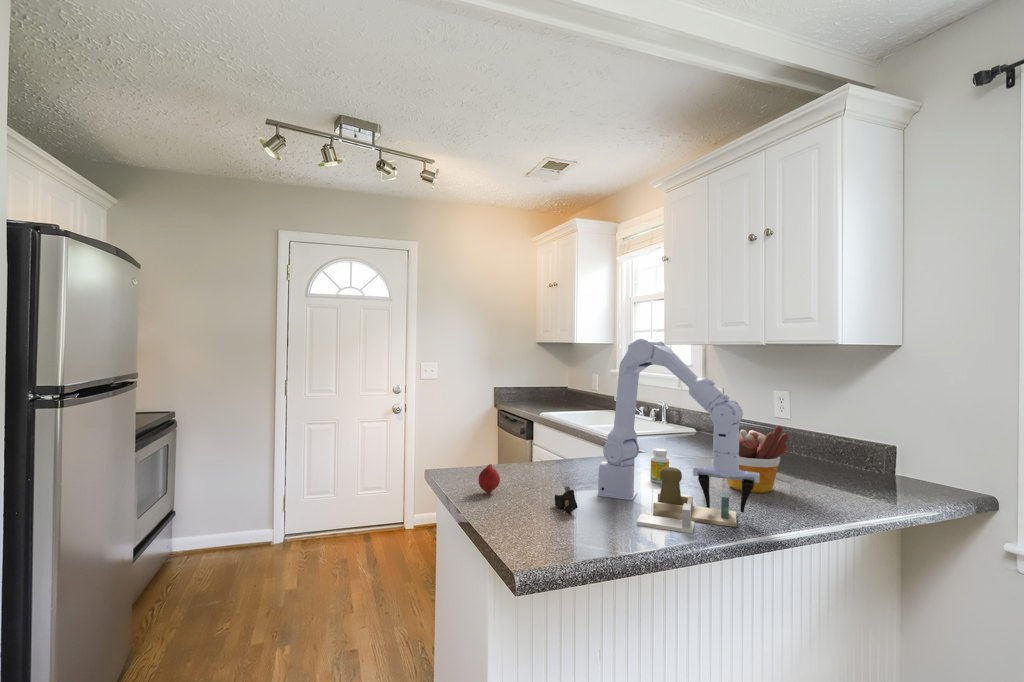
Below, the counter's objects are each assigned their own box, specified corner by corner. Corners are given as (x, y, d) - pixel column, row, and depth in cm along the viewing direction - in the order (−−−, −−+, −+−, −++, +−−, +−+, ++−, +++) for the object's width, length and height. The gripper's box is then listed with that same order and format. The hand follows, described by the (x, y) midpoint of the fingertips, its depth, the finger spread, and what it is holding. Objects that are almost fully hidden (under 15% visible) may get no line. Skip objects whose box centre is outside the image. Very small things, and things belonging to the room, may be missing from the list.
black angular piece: (555, 518, 127) (550, 495, 130) (563, 517, 128) (558, 495, 131) (569, 508, 120) (564, 484, 123) (578, 507, 121) (572, 483, 124)
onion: (489, 497, 134) (490, 467, 134) (473, 493, 138) (474, 464, 138) (503, 493, 139) (504, 463, 139) (487, 489, 142) (488, 460, 143)
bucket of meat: (705, 482, 156) (706, 418, 157) (743, 478, 163) (744, 416, 163) (760, 501, 138) (762, 427, 138) (801, 495, 145) (802, 425, 145)
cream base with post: (636, 524, 115) (637, 503, 115) (640, 517, 121) (641, 497, 121) (692, 533, 111) (693, 511, 111) (694, 525, 116) (694, 504, 116)
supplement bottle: (656, 483, 153) (657, 451, 154) (647, 479, 159) (647, 448, 159) (672, 483, 155) (672, 451, 155) (662, 478, 160) (662, 447, 160)
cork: (679, 509, 129) (680, 465, 129) (685, 517, 123) (686, 471, 123) (655, 508, 129) (656, 464, 129) (660, 515, 123) (661, 470, 123)
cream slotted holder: (653, 515, 123) (653, 491, 123) (657, 504, 132) (658, 481, 132) (736, 527, 115) (737, 501, 116) (735, 514, 125) (736, 491, 125)
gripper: (692, 451, 120) (691, 509, 120) (760, 458, 115) (759, 518, 115) (694, 446, 127) (693, 501, 127) (758, 452, 121) (757, 509, 121)
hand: (724, 508), depth 121 cm, fingers open, 7 cm apart
